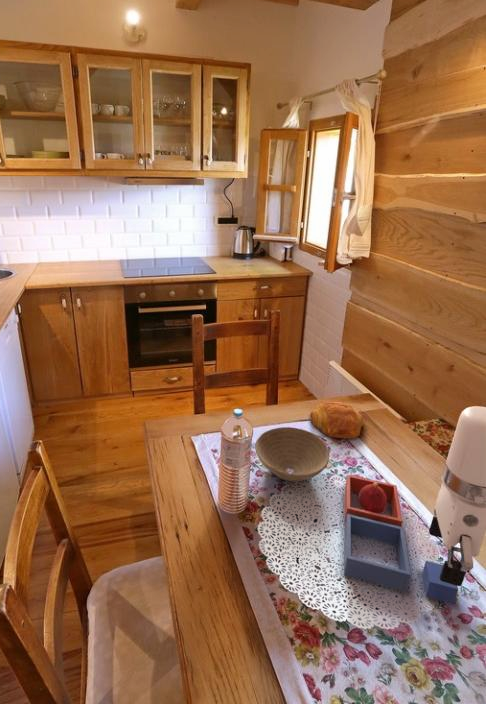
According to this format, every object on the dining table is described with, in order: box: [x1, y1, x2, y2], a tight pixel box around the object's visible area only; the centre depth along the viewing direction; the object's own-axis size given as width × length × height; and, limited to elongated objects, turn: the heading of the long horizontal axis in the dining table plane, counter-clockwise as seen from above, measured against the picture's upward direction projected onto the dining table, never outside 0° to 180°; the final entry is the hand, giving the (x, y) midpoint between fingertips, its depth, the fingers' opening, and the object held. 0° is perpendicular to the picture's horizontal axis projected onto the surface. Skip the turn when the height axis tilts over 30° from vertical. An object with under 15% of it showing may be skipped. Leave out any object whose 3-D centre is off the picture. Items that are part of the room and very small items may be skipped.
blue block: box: [421, 560, 459, 604], centre depth 74 cm, size 4×4×4 cm
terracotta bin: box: [343, 474, 403, 527], centre depth 91 cm, size 11×11×5 cm
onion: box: [358, 482, 388, 514], centre depth 90 cm, size 6×6×8 cm
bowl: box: [254, 426, 330, 483], centre depth 102 cm, size 18×18×8 cm
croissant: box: [309, 401, 364, 439], centre depth 122 cm, size 14×16×8 cm
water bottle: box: [217, 408, 254, 515], centre depth 88 cm, size 7×7×25 cm
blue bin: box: [343, 514, 412, 593], centre depth 79 cm, size 11×11×5 cm
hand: (443, 557), depth 72 cm, fingers open, 9 cm apart
